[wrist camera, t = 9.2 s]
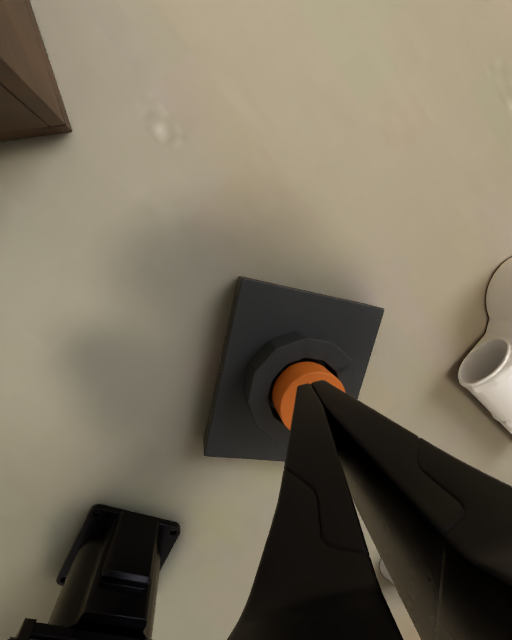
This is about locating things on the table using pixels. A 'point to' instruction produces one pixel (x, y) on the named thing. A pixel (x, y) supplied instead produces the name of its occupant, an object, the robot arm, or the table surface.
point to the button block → (281, 361)
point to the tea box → (26, 78)
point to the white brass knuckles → (494, 351)
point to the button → (291, 380)
